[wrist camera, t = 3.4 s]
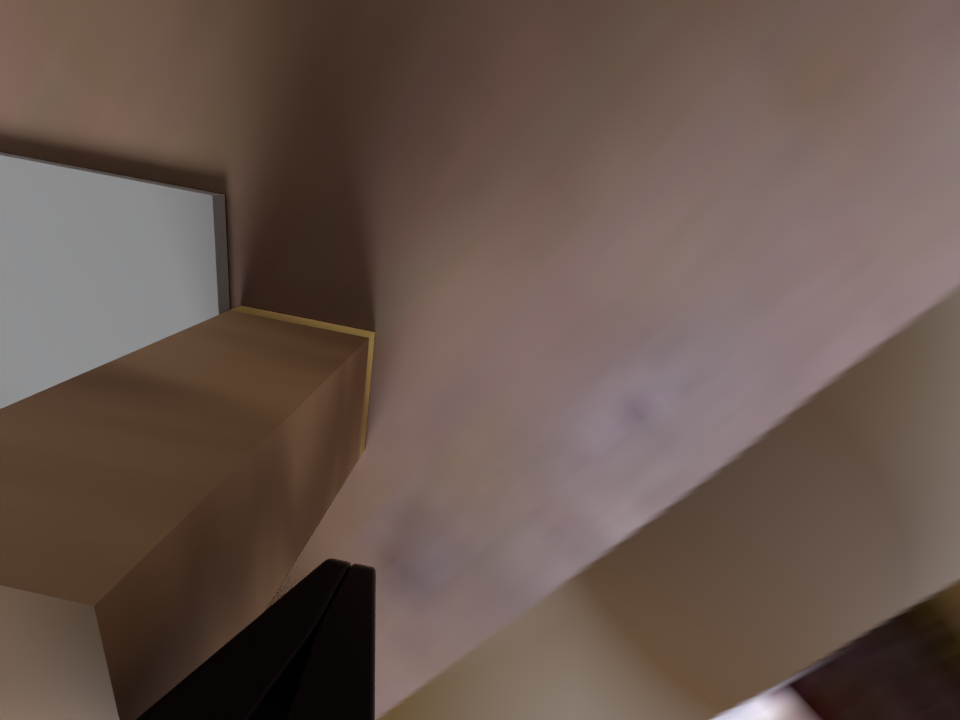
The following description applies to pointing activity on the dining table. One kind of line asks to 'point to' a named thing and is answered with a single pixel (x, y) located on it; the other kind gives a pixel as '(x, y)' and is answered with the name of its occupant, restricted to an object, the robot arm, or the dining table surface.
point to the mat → (99, 268)
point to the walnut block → (166, 505)
